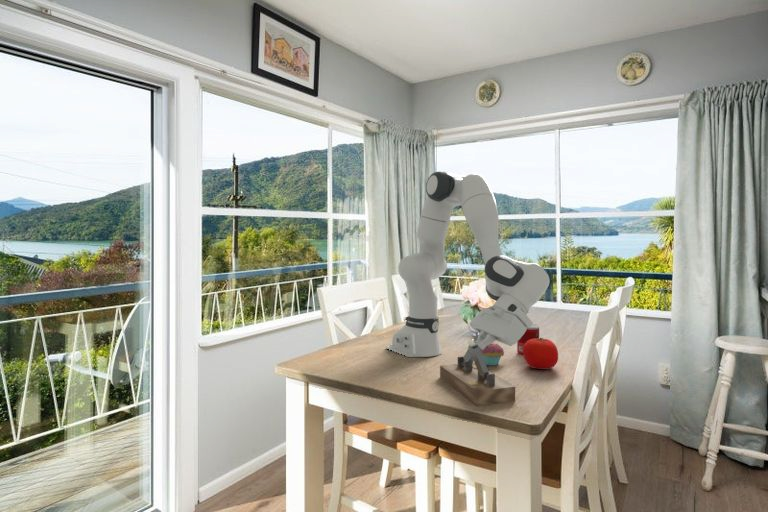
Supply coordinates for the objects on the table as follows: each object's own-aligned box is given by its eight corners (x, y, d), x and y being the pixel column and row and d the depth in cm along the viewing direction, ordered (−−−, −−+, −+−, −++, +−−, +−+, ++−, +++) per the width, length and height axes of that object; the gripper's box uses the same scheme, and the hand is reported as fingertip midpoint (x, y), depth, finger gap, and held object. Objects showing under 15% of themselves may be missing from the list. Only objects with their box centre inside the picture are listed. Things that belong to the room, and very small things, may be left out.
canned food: (540, 357, 166) (540, 328, 165) (518, 356, 167) (518, 327, 167) (537, 351, 173) (537, 324, 173) (516, 350, 175) (516, 323, 174)
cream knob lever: (485, 373, 128) (471, 336, 126) (491, 377, 125) (477, 339, 123) (479, 376, 127) (464, 340, 125) (485, 380, 124) (470, 343, 122)
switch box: (473, 374, 146) (473, 352, 145) (515, 400, 123) (515, 375, 122) (440, 377, 142) (440, 355, 142) (476, 405, 119) (477, 379, 119)
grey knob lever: (465, 364, 141) (483, 330, 142) (471, 367, 137) (489, 333, 138) (460, 360, 140) (478, 327, 141) (465, 364, 137) (484, 330, 138)
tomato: (549, 362, 159) (549, 333, 158) (564, 373, 147) (564, 342, 146) (518, 362, 158) (518, 334, 158) (530, 373, 146) (531, 342, 146)
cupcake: (486, 368, 152) (486, 333, 152) (474, 361, 161) (475, 328, 160) (508, 366, 155) (508, 332, 154) (495, 359, 163) (496, 327, 162)
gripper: (483, 298, 136) (454, 332, 134) (522, 309, 117) (489, 348, 114) (495, 312, 138) (467, 345, 135) (536, 325, 118) (504, 364, 116)
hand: (478, 347), depth 125 cm, fingers closed, pressing on cream knob lever
